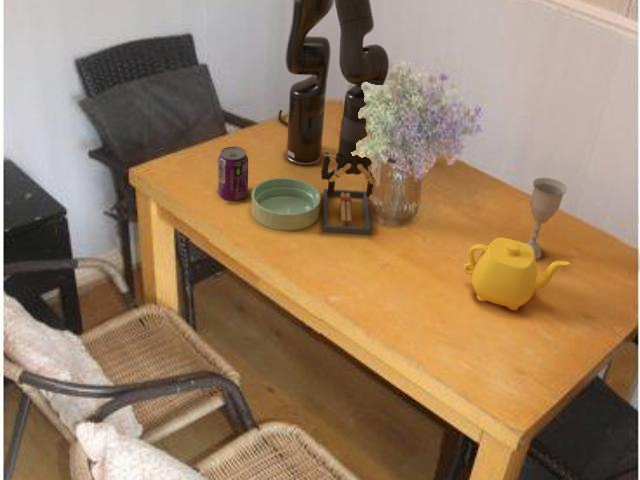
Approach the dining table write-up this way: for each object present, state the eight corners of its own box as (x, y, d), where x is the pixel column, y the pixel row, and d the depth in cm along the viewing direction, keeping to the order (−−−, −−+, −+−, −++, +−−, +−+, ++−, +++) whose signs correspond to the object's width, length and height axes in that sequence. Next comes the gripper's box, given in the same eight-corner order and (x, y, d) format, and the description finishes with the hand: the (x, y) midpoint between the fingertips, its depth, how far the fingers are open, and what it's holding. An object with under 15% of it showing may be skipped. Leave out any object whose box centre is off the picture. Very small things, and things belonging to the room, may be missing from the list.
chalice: (547, 248, 171) (568, 182, 160) (544, 264, 166) (566, 197, 155) (516, 240, 172) (534, 174, 162) (512, 256, 167) (531, 189, 157)
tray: (323, 195, 182) (323, 188, 181) (365, 198, 183) (366, 191, 182) (323, 234, 169) (324, 227, 168) (369, 236, 169) (370, 229, 168)
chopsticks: (339, 200, 180) (340, 191, 179) (349, 200, 180) (350, 192, 179) (340, 228, 171) (341, 219, 169) (351, 228, 171) (352, 219, 169)
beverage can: (246, 204, 177) (246, 161, 170) (216, 202, 177) (216, 158, 170) (249, 188, 183) (249, 146, 176) (220, 186, 182) (220, 144, 175)
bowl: (253, 193, 181) (254, 175, 178) (318, 196, 182) (320, 179, 179) (248, 230, 168) (249, 212, 165) (319, 234, 169) (320, 216, 166)
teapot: (467, 264, 163) (478, 217, 156) (557, 289, 158) (573, 242, 151) (453, 300, 153) (464, 251, 145) (550, 329, 148) (567, 280, 140)
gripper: (386, 127, 167) (378, 187, 177) (324, 123, 166) (319, 184, 176) (390, 143, 161) (381, 204, 171) (325, 140, 160) (320, 201, 170)
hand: (349, 194), depth 173 cm, fingers open, 8 cm apart
